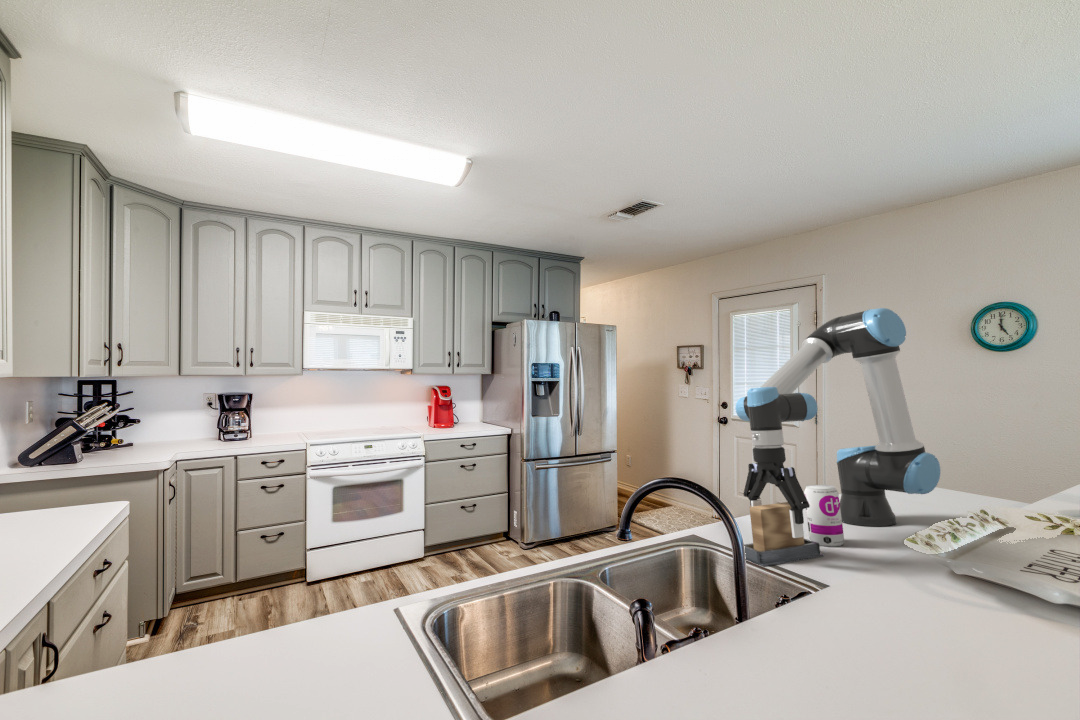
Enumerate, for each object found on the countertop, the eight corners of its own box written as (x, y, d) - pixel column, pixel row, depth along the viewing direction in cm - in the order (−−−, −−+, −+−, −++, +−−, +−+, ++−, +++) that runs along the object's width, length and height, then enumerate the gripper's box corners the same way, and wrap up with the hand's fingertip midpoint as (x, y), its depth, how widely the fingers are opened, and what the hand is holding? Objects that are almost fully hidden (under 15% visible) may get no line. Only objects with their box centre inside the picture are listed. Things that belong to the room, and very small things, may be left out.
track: (795, 547, 126) (794, 535, 127) (823, 556, 118) (822, 543, 118) (738, 556, 122) (737, 544, 122) (763, 566, 113) (761, 553, 113)
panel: (793, 549, 123) (787, 502, 125) (805, 553, 119) (799, 504, 121) (754, 555, 120) (749, 506, 122) (765, 559, 116) (760, 509, 118)
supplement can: (851, 546, 124) (844, 488, 126) (820, 548, 125) (813, 489, 126) (833, 538, 133) (826, 483, 134) (803, 539, 133) (797, 485, 134)
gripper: (725, 445, 134) (733, 522, 131) (793, 450, 110) (804, 545, 108) (747, 443, 136) (755, 519, 133) (819, 448, 112) (830, 540, 109)
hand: (777, 531), depth 120 cm, fingers open, 13 cm apart
